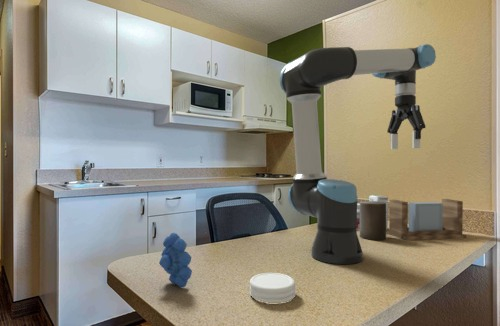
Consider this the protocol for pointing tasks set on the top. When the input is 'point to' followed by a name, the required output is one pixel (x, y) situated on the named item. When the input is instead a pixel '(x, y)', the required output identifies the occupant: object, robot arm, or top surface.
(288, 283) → the white round jar
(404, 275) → the top surface
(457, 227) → the frame
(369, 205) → the pillar candle
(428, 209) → the door panel
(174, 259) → the grapes
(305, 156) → the robot arm
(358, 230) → the pill bottle
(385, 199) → the syrup box
